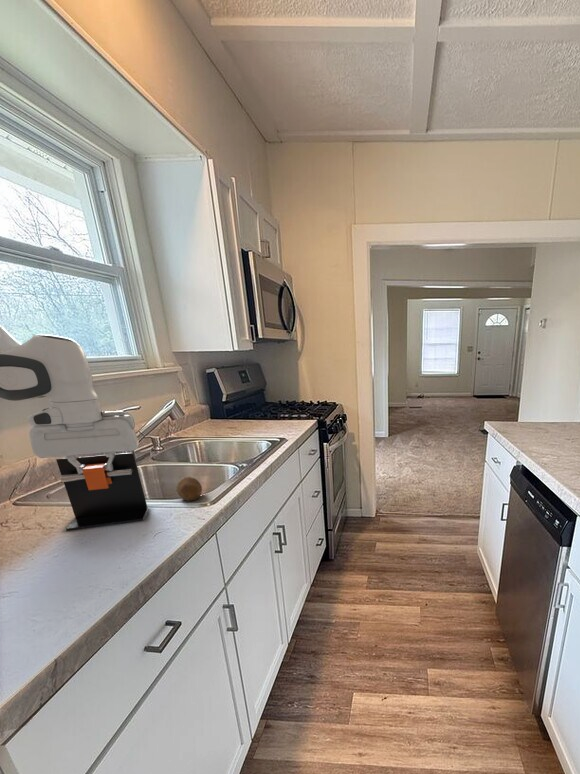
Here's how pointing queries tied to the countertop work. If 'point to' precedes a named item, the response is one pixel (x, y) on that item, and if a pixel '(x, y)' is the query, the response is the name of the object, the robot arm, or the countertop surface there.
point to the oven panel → (104, 493)
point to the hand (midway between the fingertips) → (96, 471)
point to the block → (96, 476)
